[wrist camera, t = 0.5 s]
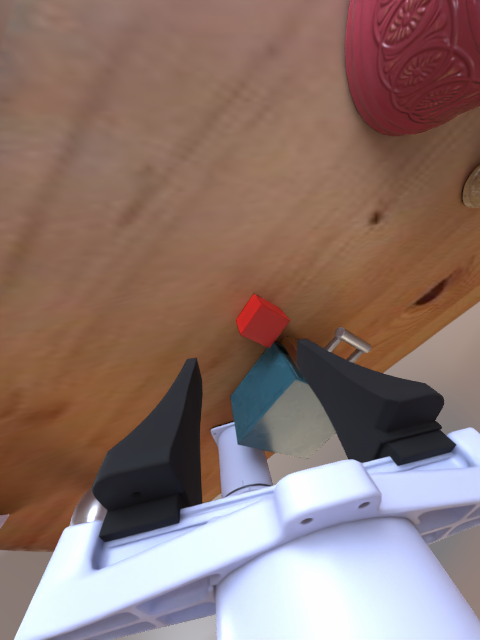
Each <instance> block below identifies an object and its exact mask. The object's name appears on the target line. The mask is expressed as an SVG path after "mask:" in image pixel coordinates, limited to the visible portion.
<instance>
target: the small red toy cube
mask: <svg viewBox="0 0 480 640" xmlns="http://www.w3.org/2000/svg"><path fill="white" fill-rule="evenodd" d="M289 322H290V319H289V318H288V317H287V316H286V315H285V314H284V313H283V311H282V310H281V309H280V308H278V307H277V306H275V305H273V304H272V303H270V302H268V301H266V300H265V299H263V298H261V297H259V296H258V295H256V294H253V295H252V297H251V298H250V300H249V301H248V303H247V304H246V306H245V307H244V309H243V310H242V312H241V313H240V315H239V316H238V318H237V320H236V323H237V326H238V329H239V332H240V335H242V336H244V337H246V338H249V339H251V340H253V341H255V342H257V343H259V344H262V345H264V346H266V347H268V348H270V347H271V345H272V344H273V343H274V341H275V340H276V339H277V337H278V336H279V335H280V333H281V332H282V331H283V330H284V328H285V327H286V326H287V324H288V323H289Z"/></svg>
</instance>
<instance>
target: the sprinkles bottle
mask: <svg viewBox="0 0 480 640" xmlns="http://www.w3.org/2000/svg"><path fill="white" fill-rule="evenodd" d="M463 202H464V204H465V206H467V207H469V208H477V207H480V165H479V166H478V167H477V168H476V169H475V170H474V171H473V172H472V173H471V175H470V176H469V178H468V180H467V181H466V183H465V186H464V190H463Z"/></svg>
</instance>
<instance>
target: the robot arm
mask: <svg viewBox="0 0 480 640" xmlns="http://www.w3.org/2000/svg"><path fill="white" fill-rule="evenodd" d="M296 363H297V365H298V367H299V369H300V371H301V373H302V375H303V377H304V378H305V380H306V381H307V383H308V385H309V386H310V388H311V389H312V391H313V392H314V394H315V395H316V397H317V398H318V400H319V401H320V403H321V404H322V406H323V408H324V410H325V412H326V414H327V415H328V417H329V419H330V421H331V423H332V425H333V427H334V429H335V431H336V433H337V435H338V438H339V440H340V441H341V444H342V446H343V448H344V450H345V453H346V455H347V457H348V460H342V461H338V462H334V463H330V464H326V465H322V466H318V467H314V468H310V469H306V470H302V471H298V472H295V473H292V474H289V475H287V476H285V477H284V478H282V479H281V480H280V481H278V483H277V485H274V486H273V483H272V479H271V475H270V472H269V468H268V464H267V460H266V456H265V452H264V450H261V449H256V448H251V447H246V446H241V445H238V444H237V437H236V430H235V424H234V422H232V423H229V424H225V425H222V426H219V427H216V428H212V429H211V434H212V436H213V438H214V440H215V442H216V444H217V446H218V448H219V461H220V477H221V492H222V498H221V499H219V500H215V501H211V502H207V503H203V504H202V489H201V463H200V421H201V408H202V394H203V393H202V378H201V374H200V370H199V366H198V362H197V358H191V359H187V360H186V362H185V364H184V366H183V368H182V370H181V372H180V373H179V375H178V377H177V378H176V380H175V382H174V383H173V385H172V386H171V388H170V389H169V391H168V392H167V394H166V395H165V396H164V398H163V399H162V400H161V402H160V403H159V404H158V405H157V406H156V408H155V409H154V410H153V411H152V412H151V413H150V414H149V415H148V416H147V418H146V419H145V420H144V421H143V422H142V423H141V424H140V425H138V426H137V427H136V428H135V429H134V430H133V431H132V432H131V433H130V434H129V435H128V436H126V437H125V438H124V439H123V440H122V441H120V442H119V443H118V444H117V445H115V446H114V447H113V448H112V449H111V450H109V451H108V453H107V455H106V457H105V459H104V461H103V463H102V465H101V467H100V469H99V472H98V474H97V477H96V479H95V481H94V484H93V486H92V493H93V495H94V497H95V498H96V499H97V500H98V502H99V503H100V504H101V505H102V506H103V507H104V508H105V509H106V510H107V513H106V516H105V519H104V522H103V521H99V520H96V521H90V522H86V523H82V524H78V525H74V526H70V527H67V528H66V529H64V531H63V533H62V535H61V538H60V540H59V542H58V544H57V546H56V549H55V551H54V553H53V555H52V557H51V560H50V562H49V564H48V566H47V568H46V571H45V573H44V575H43V577H42V579H41V582H40V584H39V586H38V588H37V590H36V593H35V595H34V597H33V599H32V602H31V603H30V606H29V608H28V610H27V612H26V614H25V617H24V619H23V621H22V623H21V625H20V628H19V630H18V632H17V634H16V637H15V639H14V640H112V639H117V638H120V637H125V636H128V635H132V634H136V633H141V632H145V631H149V630H153V629H157V628H161V627H166V626H170V625H174V624H178V623H182V622H186V621H190V620H195V619H199V618H203V617H207V616H211V615H215V614H216V633H217V640H480V620H479V619H478V618H477V616H476V615H475V613H474V612H473V610H472V609H471V607H470V606H469V604H468V603H467V602H466V600H465V599H464V597H463V596H462V595H461V593H460V591H459V590H458V589H457V587H456V586H455V584H454V583H453V582H452V580H451V579H450V577H449V576H448V574H447V573H446V571H445V570H444V568H443V567H442V566H441V564H440V563H439V561H438V560H437V558H436V557H435V556H434V554H433V553H432V551H431V550H430V548H429V547H428V545H429V544H431V543H433V542H436V541H439V540H441V539H444V538H446V537H449V536H451V535H454V534H456V533H459V532H462V531H464V530H466V529H469V528H472V527H475V526H477V525H480V434H479V433H478V432H477V431H476V430H474V429H473V428H466V429H462V430H458V431H454V432H451V433H449V434H447V435H445V434H444V433H443V432H442V431H441V430H440V429H441V428H442V427H441V425H440V424H439V423H437V422H436V421H435V420H436V418H437V416H438V415H439V413H440V411H441V409H442V408H443V405H444V398H443V396H442V395H440V394H439V393H438V392H436V391H435V390H434V389H432V388H431V387H430V386H428V385H427V384H425V383H421V382H416V381H411V380H406V379H402V378H397V377H393V376H390V375H386V374H383V373H379V372H376V371H373V370H370V369H367V368H365V367H362V366H359V365H357V364H354V363H352V362H350V361H347V360H345V359H343V358H341V357H339V356H337V355H335V354H333V353H331V352H329V351H327V350H325V349H324V348H322V347H320V346H318V345H317V344H315V343H313V342H311V341H309V340H307V339H301V340H298V343H297V359H296Z"/></svg>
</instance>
